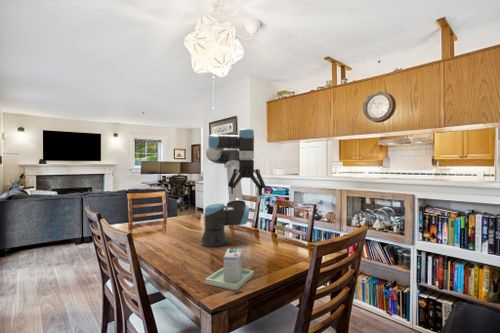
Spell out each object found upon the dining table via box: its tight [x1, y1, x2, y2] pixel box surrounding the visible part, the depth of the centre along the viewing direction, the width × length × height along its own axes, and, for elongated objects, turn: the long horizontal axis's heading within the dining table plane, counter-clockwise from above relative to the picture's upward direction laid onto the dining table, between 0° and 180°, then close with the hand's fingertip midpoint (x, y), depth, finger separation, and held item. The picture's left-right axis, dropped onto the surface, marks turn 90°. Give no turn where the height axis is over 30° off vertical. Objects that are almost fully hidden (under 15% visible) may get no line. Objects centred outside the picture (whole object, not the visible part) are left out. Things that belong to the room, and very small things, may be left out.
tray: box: [204, 266, 255, 292], centre depth 114 cm, size 14×16×2 cm
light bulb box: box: [223, 248, 243, 283], centre depth 114 cm, size 11×7×11 cm, turn 177°
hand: (246, 201), depth 140 cm, fingers open, 13 cm apart
